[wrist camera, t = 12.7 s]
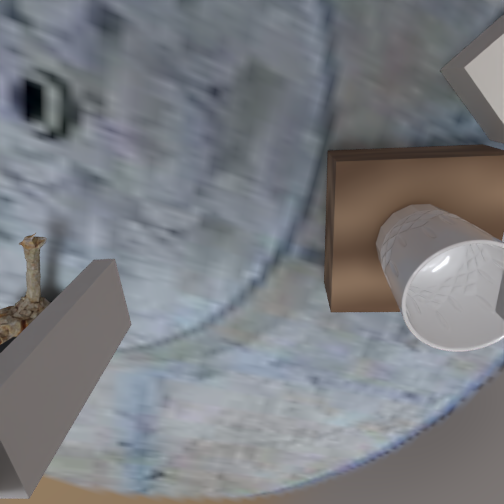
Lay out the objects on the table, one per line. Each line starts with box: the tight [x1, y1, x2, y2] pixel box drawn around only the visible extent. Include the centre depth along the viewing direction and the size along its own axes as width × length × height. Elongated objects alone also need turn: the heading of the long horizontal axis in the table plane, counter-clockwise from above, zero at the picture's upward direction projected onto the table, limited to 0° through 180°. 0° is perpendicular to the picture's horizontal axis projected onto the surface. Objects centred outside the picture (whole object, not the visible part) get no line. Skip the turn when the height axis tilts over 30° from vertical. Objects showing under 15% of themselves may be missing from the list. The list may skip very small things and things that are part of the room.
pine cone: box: [0, 233, 50, 345], centre depth 40 cm, size 22×10×10 cm, turn 172°
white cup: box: [376, 204, 504, 352], centre depth 28 cm, size 8×8×10 cm
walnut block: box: [324, 144, 504, 312], centre depth 36 cm, size 14×14×6 cm
